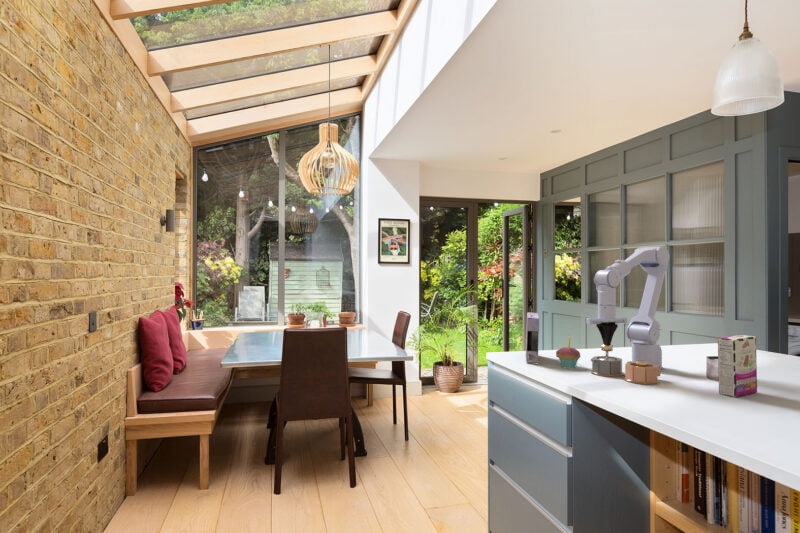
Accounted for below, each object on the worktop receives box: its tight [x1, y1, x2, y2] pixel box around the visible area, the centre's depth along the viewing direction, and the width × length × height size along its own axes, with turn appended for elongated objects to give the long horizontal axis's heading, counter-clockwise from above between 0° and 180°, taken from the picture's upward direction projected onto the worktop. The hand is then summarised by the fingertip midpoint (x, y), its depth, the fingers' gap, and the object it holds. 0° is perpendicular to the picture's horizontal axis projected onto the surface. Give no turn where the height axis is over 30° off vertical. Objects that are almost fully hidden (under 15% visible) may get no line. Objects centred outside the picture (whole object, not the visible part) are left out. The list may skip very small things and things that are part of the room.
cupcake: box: [555, 334, 581, 369], centre depth 182 cm, size 9×8×12 cm
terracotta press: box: [623, 360, 661, 386], centre depth 160 cm, size 11×12×5 cm
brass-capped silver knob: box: [599, 343, 615, 360], centre depth 171 cm, size 5×5×5 cm
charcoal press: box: [590, 355, 625, 378], centre depth 171 cm, size 11×12×5 cm
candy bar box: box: [717, 334, 758, 398], centre depth 144 cm, size 11×5×16 cm, turn 117°
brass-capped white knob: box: [635, 360, 648, 367], centre depth 160 cm, size 5×5×5 cm
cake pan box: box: [525, 312, 540, 364], centre depth 196 cm, size 19×5×18 cm, turn 166°
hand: (607, 344), depth 171 cm, fingers closed
